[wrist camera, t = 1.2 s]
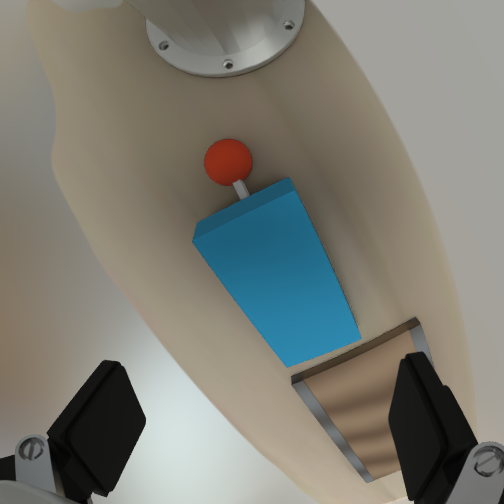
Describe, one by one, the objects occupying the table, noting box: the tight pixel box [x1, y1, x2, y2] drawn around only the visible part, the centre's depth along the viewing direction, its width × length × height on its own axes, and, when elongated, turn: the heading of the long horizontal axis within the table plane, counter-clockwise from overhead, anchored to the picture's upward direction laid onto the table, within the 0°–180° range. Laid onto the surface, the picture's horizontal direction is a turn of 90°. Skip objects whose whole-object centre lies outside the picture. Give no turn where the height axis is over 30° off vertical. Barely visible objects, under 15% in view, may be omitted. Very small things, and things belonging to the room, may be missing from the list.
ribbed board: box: [292, 317, 435, 483], centre depth 29 cm, size 24×13×1 cm, turn 31°
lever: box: [192, 139, 361, 367], centre depth 24 cm, size 7×7×18 cm
